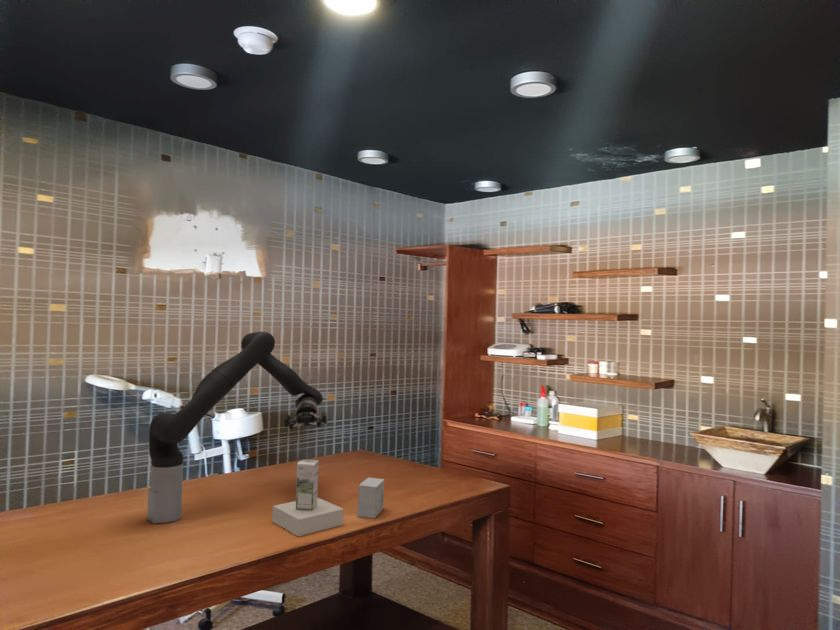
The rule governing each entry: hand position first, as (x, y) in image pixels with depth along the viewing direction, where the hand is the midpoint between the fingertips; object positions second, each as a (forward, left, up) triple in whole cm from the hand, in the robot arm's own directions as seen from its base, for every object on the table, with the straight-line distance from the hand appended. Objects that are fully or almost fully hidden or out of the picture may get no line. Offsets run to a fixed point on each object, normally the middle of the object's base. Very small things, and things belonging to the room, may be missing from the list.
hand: (304, 425), depth 191 cm
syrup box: (-4, -10, -24) cm, 26 cm away
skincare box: (+18, -14, -29) cm, 37 cm away
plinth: (-4, -10, -29) cm, 31 cm away
